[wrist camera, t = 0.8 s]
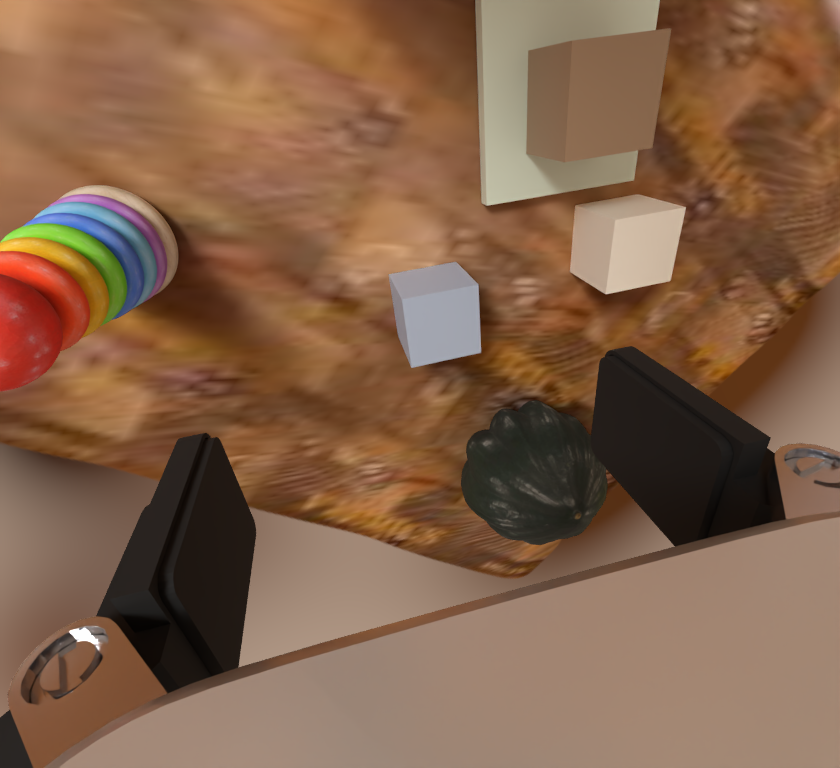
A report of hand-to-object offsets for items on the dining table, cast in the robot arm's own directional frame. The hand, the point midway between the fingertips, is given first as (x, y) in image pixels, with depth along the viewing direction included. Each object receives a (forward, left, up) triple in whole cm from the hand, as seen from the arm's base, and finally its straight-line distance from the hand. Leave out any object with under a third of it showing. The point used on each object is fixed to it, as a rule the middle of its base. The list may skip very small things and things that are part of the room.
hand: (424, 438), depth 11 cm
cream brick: (+6, +23, -29) cm, 37 cm away
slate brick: (+9, +6, -29) cm, 31 cm away
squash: (+28, +14, -29) cm, 42 cm away
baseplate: (-5, +18, -29) cm, 34 cm away
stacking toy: (0, -16, -29) cm, 33 cm away
